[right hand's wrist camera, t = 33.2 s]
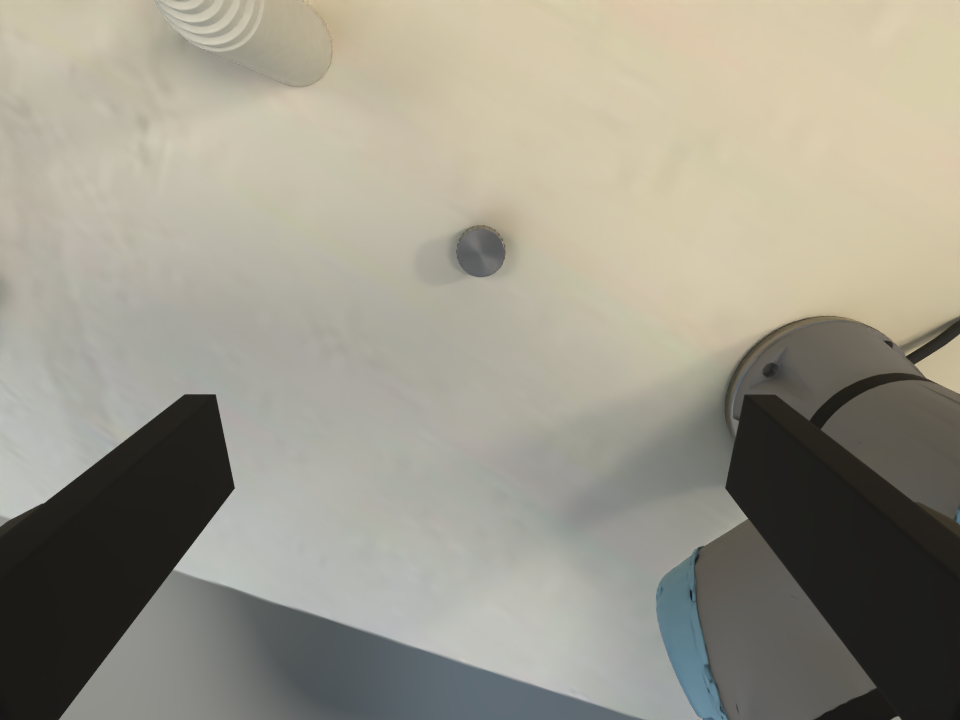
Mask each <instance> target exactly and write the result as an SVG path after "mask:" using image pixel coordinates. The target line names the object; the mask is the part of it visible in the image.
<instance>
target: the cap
mask: <svg viewBox="0 0 960 720" xmlns="http://www.w3.org/2000/svg"><path fill="white" fill-rule="evenodd" d="M504 247H505V246H504V244H503V240H502V238H501V237H500V235H499V234H498V233H497V232H496V231H495V230H493V229H491V228H490V227H486V226H485V225H484V226H479V225H478V226H476V227H472V228H470V229H467V231H466V232H465V233H463V235H462V237H461V238H460V239H459V243H458V244H457V251H456V253H457V258H458V262H459V264H460V266H461V267H462V269H463V270H464V271H466V272H467V273H468V274H470V275H472V276H476V277H486V276H489V275H491V274H493V273H495V272H496V271H497V270H498V269H499V268H500V267H501V265H502V263H503V261H504V259H505V258H504V257H505V249H504Z"/></svg>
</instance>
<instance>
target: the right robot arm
mask: <svg viewBox="0 0 960 720" xmlns="http://www.w3.org/2000/svg"><path fill="white" fill-rule="evenodd" d="M959 334H960V321H958V322H957V323H955V324H953V325H952V326H951V327H949V328H948V329H947V330H945V331H944V332H943V333H942V334H940V335H939V336H937V337H936V338H935V339H933V340H932V341H930V342H928V343H927V344H925V345H924V346H922V347H920V348H919V349H917V350H916V351H914V352H912V353H911V354H909V355H908V356H905V354H904V353H903V352H902V351H901V349H900V348H899V347H898V346H897V345H896V344H895V343H894V342H893V341H892V340H891V339H889V338H888V337H887V336H885V335H884V334H882V333H881V332H879V331H878V330H876V329H874V328H872V327H870V326H867V325H865V324H862V323H860V322H857V321H855V320H852V319H847V318H842V317H830V316H826V317H815V318H809V319H805V320H801V321H798V322H795V323H792V324H790V325H787V326H785V327H783V328H781V329H779V330H777V331H775V332H774V333H772V334H771V335H769V336H768V337H766V338H765V339H764V340H762V341H761V342H760V343H759V344H757V345H756V346H755V347H754V348H753V349H752V350H751V351H750V352H749V353H748V354H747V356H746V357H745V358H744V359H743V361H742V362H741V363H740V365H739V366H738V368H737V369H736V371H735V373H734V375H733V377H732V379H731V382H730V384H729V387H728V390H727V395H726V401H725V416H726V422H727V426H728V429H729V431H730V433H731V435H732V437H733V439H734V440H735V443H734V448H733V453H732V458H731V463H730V467H729V472H728V477H727V482H726V487H725V489H726V490H727V491H728V493H729V494H730V495H731V496H732V498H733V499H734V500H735V502H736V503H737V504H738V506H739V507H740V508H741V510H742V511H743V512H744V514H745V515H746V516H747V517H748V519H747V520H746V521H744V522H743V523H741V524H739V525H738V526H736V527H735V528H733V529H732V530H730V531H729V532H727V533H725V534H724V535H722V536H721V537H719V538H717V539H716V540H714V541H712V542H711V543H709V544H708V545H706V546H701V547H698V548H697V549H695V550H694V552H693V553H692V555H691V556H690V557H689V558H687V559H686V560H685V561H683V562H682V563H681V564H679V565H678V566H677V567H675V568H674V569H672V570H671V571H670V572H668V573H667V574H666V575H665V576H664V577H663V578H662V580H661V581H660V583H659V586H658V589H657V595H656V603H657V604H656V612H657V618H658V623H659V628H660V631H661V635H662V638H663V641H664V645H665V648H666V650H667V653H668V656H669V659H670V661H671V664H672V666H673V668H674V671H675V673H676V675H677V678H678V680H679V682H680V684H681V686H682V688H683V690H684V692H685V694H686V696H687V698H688V700H689V702H690V704H691V706H692V707H693V709H694V711H695V712H696V714H697V715H698V716H699V717H701V718H702V719H703V720H960V394H958V393H956V392H954V391H952V390H949V389H947V388H945V387H943V386H941V385H939V384H937V383H935V382H933V381H931V380H929V379H926V378H925V376H924V375H923V374H922V373H921V372H920V371H919V370H918V369H917V367H916V366H915V365H914V364H916V363H917V362H919V361H921V360H922V359H924V358H925V357H927V356H929V355H930V354H932V353H933V352H935V351H937V350H938V349H940V348H941V347H943V346H944V345H946V344H947V343H948V342H950V341H951V340H952V339H954V338H955V337H956V336H958V335H959ZM234 489H235V487H234V482H233V477H232V472H231V468H230V463H229V458H228V453H227V448H226V443H225V438H224V433H223V428H222V423H221V419H220V414H219V409H218V404H217V399H216V394H185V395H183V396H182V397H181V398H180V399H178V400H177V401H176V402H174V403H173V404H172V405H171V406H169V407H168V408H167V409H165V410H164V411H163V412H161V413H160V414H159V415H158V416H156V417H155V418H154V419H152V420H151V421H150V422H149V423H147V424H146V425H145V426H143V427H142V428H141V429H140V430H138V431H137V432H136V433H134V434H133V435H132V436H130V437H129V438H128V439H127V440H125V441H124V442H123V443H121V444H120V445H119V446H118V447H116V448H115V449H114V450H112V451H111V452H110V453H109V454H107V455H106V456H105V457H103V458H102V459H101V460H99V461H98V462H97V463H96V464H94V465H93V466H92V467H90V468H89V469H88V470H87V471H85V472H84V473H83V474H81V475H80V476H79V477H78V478H76V479H75V480H74V481H72V482H71V483H70V484H68V485H67V486H66V487H65V488H63V489H62V490H61V491H59V492H58V493H57V494H56V495H54V496H53V497H52V498H50V499H49V500H48V501H47V502H45V503H44V504H40V505H39V506H37V507H35V508H33V509H31V510H29V511H27V512H25V513H23V514H21V515H19V516H17V517H15V518H13V519H11V520H9V521H8V522H6V523H5V524H4V525H2V526H1V527H0V720H59V719H60V717H61V716H62V715H63V713H64V712H65V711H66V709H67V708H68V707H69V705H70V704H71V703H72V701H73V700H74V699H75V697H76V696H77V695H78V694H79V692H80V691H81V690H82V688H83V687H84V686H85V684H86V683H87V682H88V680H89V679H90V678H91V676H92V675H93V674H94V672H95V671H96V670H97V668H98V667H99V666H100V665H101V663H102V662H103V661H104V659H105V658H106V657H107V655H108V654H109V653H110V652H111V650H112V649H113V648H114V646H115V645H116V644H117V642H118V641H119V640H120V638H121V637H122V636H123V634H124V633H125V632H126V630H127V629H128V628H129V627H130V625H131V624H132V623H133V621H134V620H135V619H136V617H137V616H138V615H139V613H140V612H141V611H142V609H143V608H144V607H145V605H146V604H147V603H148V602H149V600H150V599H151V598H152V596H153V595H154V594H155V592H156V591H157V590H158V588H159V587H160V586H161V585H162V583H163V582H164V581H165V579H166V578H167V577H168V575H169V574H170V573H171V571H172V570H173V569H174V567H175V566H176V565H177V563H178V562H179V561H180V560H181V558H182V557H183V556H184V554H185V553H186V552H187V550H188V549H189V548H190V546H191V545H192V544H193V542H194V541H195V540H196V539H197V537H198V536H199V535H200V533H201V532H202V531H203V529H204V528H205V527H206V525H207V524H208V523H209V521H210V520H211V519H212V517H213V516H214V515H215V514H216V512H217V511H218V510H219V508H220V507H221V506H222V504H223V503H224V502H225V500H226V499H227V498H228V496H229V495H230V494H231V493H232V491H233V490H234Z"/></svg>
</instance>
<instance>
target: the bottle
mask: <svg viewBox="0 0 960 720" xmlns="http://www.w3.org/2000/svg"><path fill="white" fill-rule="evenodd" d="M155 2H156V4H157V6H158V8H159V10H160V12H161V13H162V15H163V16H164V18H165V19H166V20H167V22H168V23H169V24H170V25H171V26H172V27H173V28H174V29H175V30H176V31H177V32H178V33H179V34H180V35H181V36H182V37H183V38H185V39H186V40H187V41H189V42H190V43H192V44H193V45H195V46H197V47H199V48H202V49H204V50H206V51H209V52H211V53H213V54H216V55H218V56H221V57H223V58H225V59H228V60H230V61H232V62H235V63H237V64H240V65H242V66H244V67H247V68H249V69H251V70H254V71H256V72H259V73H261V74H263V75H266V76H268V77H270V78H273V79H275V80H277V81H280V82H282V83H285V84H287V85H290V86H294V87H305V86H309V85H312V84H314V83H315V82H317V81H318V80H320V79H321V78H322V77H323V75H324V74H325V73H326V71H327V69H328V67H329V65H330V62H331V57H332V43H331V38H330V34H329V31H328V29H327V27H326V25H325V23H324V22H323V20H322V19H321V17H320V16H319V15H318V14H317V13H316V12H315V11H314V10H313V9H312V8H311V7H310V6H308V5H307V4H306V3H305V2H304V1H303V0H155Z"/></svg>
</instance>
